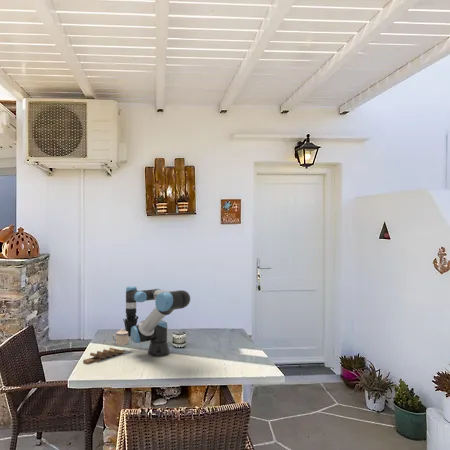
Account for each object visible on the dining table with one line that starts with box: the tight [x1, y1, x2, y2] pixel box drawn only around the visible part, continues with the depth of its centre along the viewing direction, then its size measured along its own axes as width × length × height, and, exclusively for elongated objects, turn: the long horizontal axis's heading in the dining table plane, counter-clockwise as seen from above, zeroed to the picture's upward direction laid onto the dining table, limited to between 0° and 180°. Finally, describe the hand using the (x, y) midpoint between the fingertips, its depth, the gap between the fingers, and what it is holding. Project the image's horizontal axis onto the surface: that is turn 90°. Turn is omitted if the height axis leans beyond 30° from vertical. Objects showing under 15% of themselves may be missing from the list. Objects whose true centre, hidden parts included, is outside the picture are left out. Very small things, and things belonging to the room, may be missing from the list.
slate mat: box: [96, 349, 134, 364], centre depth 291 cm, size 10×30×1 cm, turn 144°
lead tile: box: [108, 347, 125, 353], centre depth 295 cm, size 2×5×10 cm
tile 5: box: [82, 356, 101, 365], centre depth 278 cm, size 2×5×10 cm
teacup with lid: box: [112, 328, 129, 346], centre depth 321 cm, size 12×9×12 cm
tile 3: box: [96, 350, 113, 357], centre depth 286 cm, size 2×5×10 cm
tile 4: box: [89, 352, 107, 359], centre depth 282 cm, size 2×5×10 cm
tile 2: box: [102, 348, 119, 355], centre depth 291 cm, size 2×5×10 cm
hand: (130, 340), depth 304 cm, fingers closed
